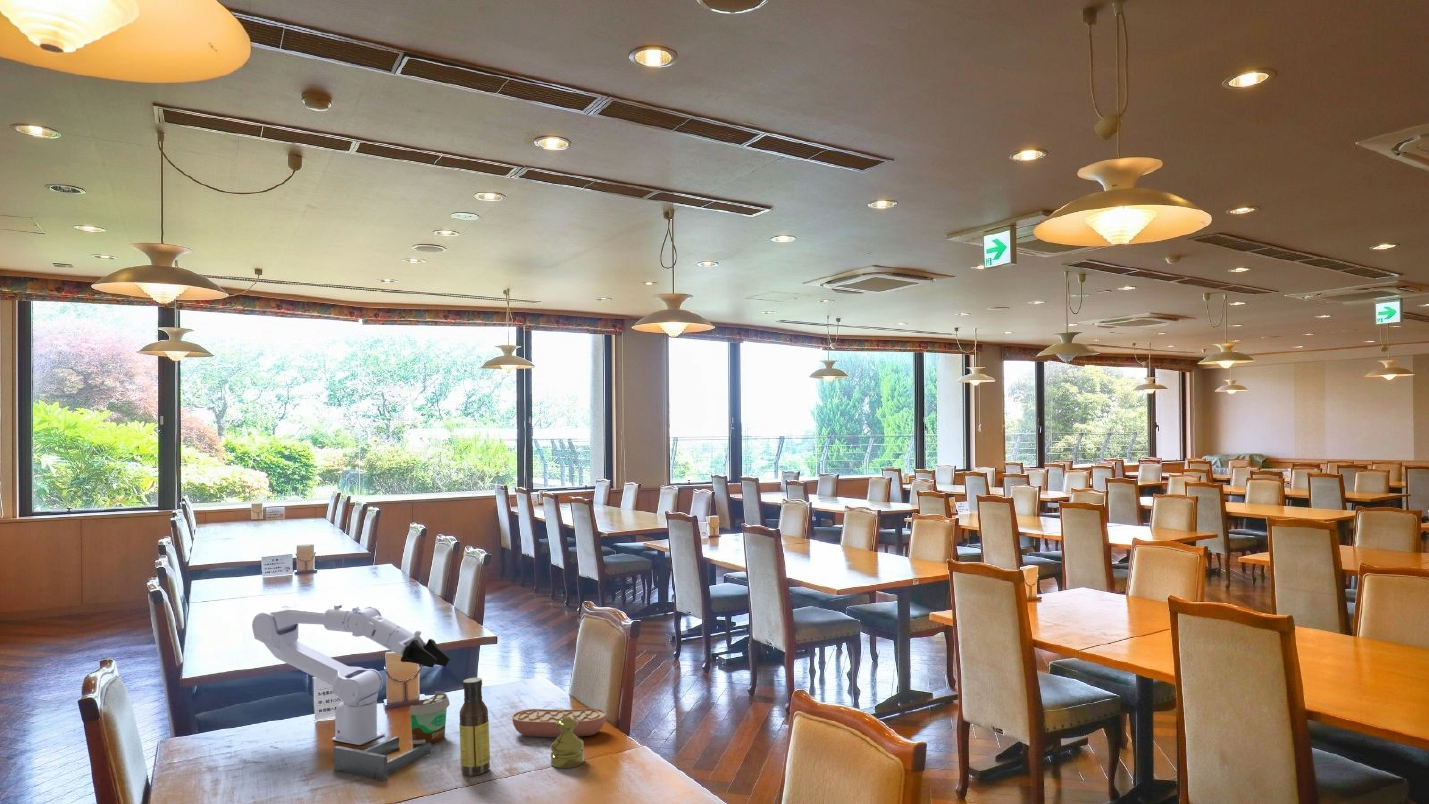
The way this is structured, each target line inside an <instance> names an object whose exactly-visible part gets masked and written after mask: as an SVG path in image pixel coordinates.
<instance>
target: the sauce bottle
mask: <svg viewBox="0 0 1429 804" xmlns="http://www.w3.org/2000/svg"><path fill="white" fill-rule="evenodd" d="M482 686H483V678H481V677H470V678H466V679H464V680H463V681H462V687H463V691H464V693H463V696H464V698H463V700H464V701H463V703H462V704H463V705H462V706H461V707H460V710H459V725H458V726H459V747H460V748H459V749H460V751H459V752H460V753H459V754H460V764H461V773H462V774H463V775H464V776H467V777H472V776H479V775H483V774H485V773H486V772H488V771H489V769H490V768H491V767H490V766H491V764H490V760H491V754H490V753H491V751H490V746H491V745H490V721H489V709H488V706H487V705H486V704H485V702H484V700H483V694H482V688H483V687H482Z"/></svg>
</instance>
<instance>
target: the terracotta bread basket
mask: <svg viewBox="0 0 1429 804" xmlns="http://www.w3.org/2000/svg"><path fill="white" fill-rule="evenodd" d="M511 717H512V724H513V726H514V728H515V730H516V731H517V732H518V733H519V734H521V735H523V736H525V737H531V736H534V737H535V738H557V737H558V736H559V735H560V734H561V730H560V729H559V728H558V727H557V726H556V722H557V721H559V720H560V719H563V718H564V717H571V718H574V719H576V720H577V721H578V725H577V726H576V727H575V728H574V729H573V732H574V734H575V735H577V736H578V737H579V738H580V737H590V736H593V735H595V734H598V733H599V732H600V731H601V729H602V728H603V727H604V725H605V723H606V719H607V713H606V712H605V711H604V710H603V709H599V708H577V709H574V708H573V709H546V708H545V709H544V708H531V709H530V708H529V709H524V710H520V711H518V712H516V713H514V714H513V715H512V716H511Z"/></svg>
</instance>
